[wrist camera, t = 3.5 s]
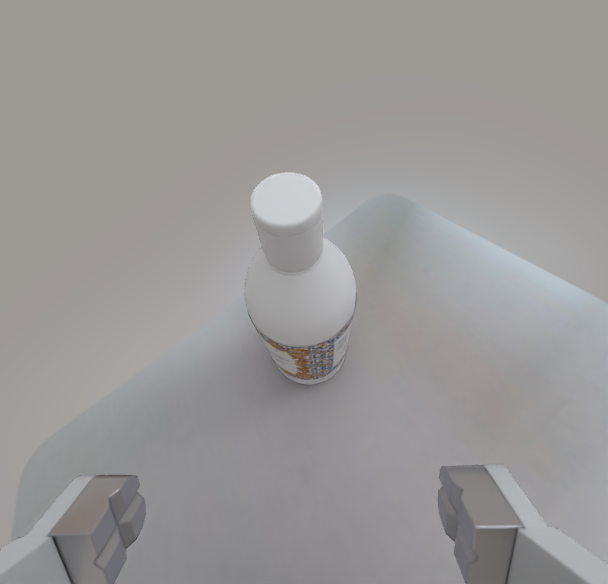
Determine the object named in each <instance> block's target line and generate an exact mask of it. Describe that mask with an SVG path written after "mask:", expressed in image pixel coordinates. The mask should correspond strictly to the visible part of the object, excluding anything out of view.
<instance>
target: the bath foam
mask: <svg viewBox="0 0 608 584" xmlns="http://www.w3.org/2000/svg"><path fill="white" fill-rule="evenodd" d="M250 207H251V208H250V209H251V213H252V216H253V219H254V223H255V226H256V229H257V232H258V236H259V239H260V242H261V245H262V247H261V248H260V249H259V250H258V252H257V253H256V254H255V256H254V258H253V259H252V261H251V263H250V266H249V268H248V271H247V275H246V279H245V301H246V306H247V310H248V313H249V316H250V318H251V320H252V322H253V324H254V326H255V328H256V329H257V331H258V333H259V335H260V337H261V338H262V340H263V342H264V344H265V346H266V347H267V349H268V351H269V353H270V355H271V356H272V358H273V360H274V362H275V363H276V365H277V367H278V368H279V370H280V371H281V372H282V373H283V374H284V375H285V376H286V377H288V378H289V379H291V380H292V381H295V382H297V383H301V384H318V383H321V382H324V381H326V380H328V379H329V378H331V377H332V376H333V375H334V374H335V373H336V372H337V371H338V370H339V369H340V367H341V366H342V364H343V362H344V359H345V356H346V351H347V347H348V341H349V336H350V331H351V326H352V321H353V316H354V311H355V305H356V284H355V279H354V275H353V272H352V269H351V267H350V264H349V262H348V261H347V259H346V257H345V256H344V254H343V253H342V252H341V251H340V250H339V249H338V248H337V247H336V246H335V245H334V244H333V243H332V242H330V241H329V240H328V239H326V238H324V237H323V201H322V195H321V191H320V189H319V187H318V185H317V184H316V183H315V182H314V181H313V180H312V179H310V178H308V177H307V176H304V175H302V174H298V173H289V172H288V173H279V174H275V175H272V176H270V177H268V178H266V179H264V180H263V181H262V182H260V183H259V184H258V185H257V186H256V188H255V189H254V191H253V193H252V195H251V199H250Z"/></svg>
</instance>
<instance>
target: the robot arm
mask: <svg viewBox="0 0 608 584" xmlns="http://www.w3.org/2000/svg"><path fill="white" fill-rule="evenodd" d="M439 478H440V481H441V483H442V485H443V486H442V487H441V488H440V490H439V491H438V508H439V514H440V518H441V521H442V524H443V527H444V529H445V532H446V534H447V535H448V536H449V537H450V538H451V539H452V540H453V541H454V542H455V548H454V555H455V558H456V560H457V563H458V565H459V568H460V570H461V573H462V575H463V578H464V580H465V583H466V584H608V563H606V562H605V561H603V560H602V559H600V558H599V557H598V556H596V555H595V554H593V553H592V552H590V551H589V550H588V549H586V548H585V547H583V546H582V545H580V544H579V543H578V542H576V541H575V540H573V539H572V538H570V537H569V536H567V535H566V534H565V533H563V532H562V531H560V530H559V529H557V528H549V526H548V525H547V523H546V522H545V521H544V519H543V518H542V516H541V515H540V514H539V512H538V511H537V509H536V508H535V507H534V505H533V504H532V503H531V501H530V500H529V498H528V497H527V496H526V494H525V493H524V491H523V490H522V489H521V487H520V486H519V484H518V483H517V482H516V480H515V479H514V477H513V476H512V475H511V473H510V472H509V471H508V469H507V468H506V467H505V466H504V465H502V464H496V465H463V466H442V467H441V469H440V475H439ZM139 487H140V483H139V480H138V477H137V476H135V475H80V476H78V477H76V478H75V479H73V480H72V481H71V482H70V484H69V485H68V486H67V487H66V488H65V490H64V491H63V492H62V493H61V494H60V495H59V497H58V498H57V499H56V500H55V501H54V503H53V504H52V505H51V506H50V507H49V508H48V510H47V511H46V512H45V513H44V514H43V516H42V517H41V518H40V519H39V520H38V522H37V523H36V524H35V525H34V526H33V527H32V529H31V530H30V531H29V532H28V533H27V535H26V536H25V537H18V538H17V539H15V540H14V541H12V542H11V543H9V544H8V545H6V546H5V547H3V548H2V549H0V584H114V582H115V580H116V578H117V576H118V575H119V573H120V571H121V569H122V567H123V565H124V563H125V561H126V559H127V557H126V548H127V547H128V546H130V545H131V544H132V543H133V542H134V541H135V540H136V539H137V537H138V535H139V533H140V531H141V529H142V527H143V523H144V519H145V515H146V504H145V500H144V498H143V497H142V496H141V495H140V494H139V493H138V492H137V490H138V488H139Z"/></svg>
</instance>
